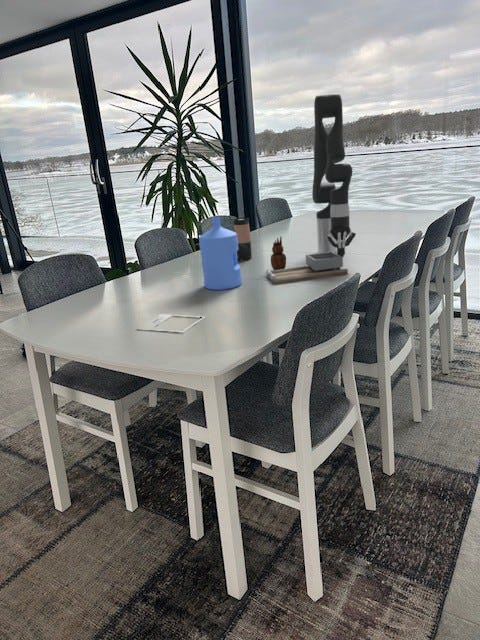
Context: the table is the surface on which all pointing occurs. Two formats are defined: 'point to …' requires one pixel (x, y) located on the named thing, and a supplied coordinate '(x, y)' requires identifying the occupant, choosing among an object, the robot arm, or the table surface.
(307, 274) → the rail board
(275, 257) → the wooden figurine
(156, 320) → the photo frame
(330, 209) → the robot arm
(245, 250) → the travel mug
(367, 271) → the table surface
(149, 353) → the table surface
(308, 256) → the shallow grey tray
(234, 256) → the water jug
